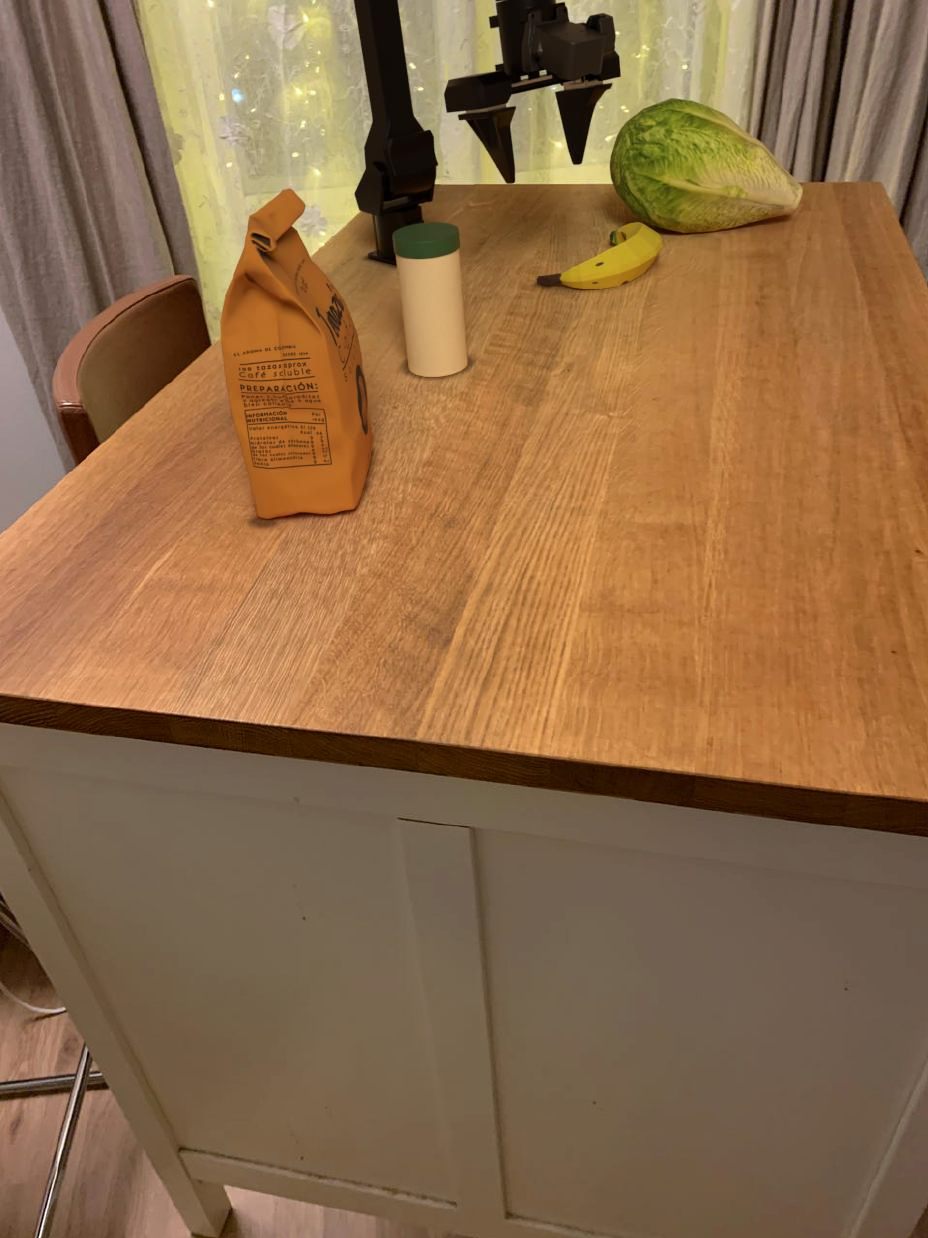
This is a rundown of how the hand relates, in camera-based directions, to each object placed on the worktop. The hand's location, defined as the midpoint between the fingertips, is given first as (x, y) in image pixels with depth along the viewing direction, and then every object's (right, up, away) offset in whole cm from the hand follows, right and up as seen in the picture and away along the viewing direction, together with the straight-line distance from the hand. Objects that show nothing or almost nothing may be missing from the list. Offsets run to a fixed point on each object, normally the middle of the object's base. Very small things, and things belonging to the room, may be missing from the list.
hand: (544, 173), depth 101 cm
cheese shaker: (-11, -20, -2) cm, 23 cm away
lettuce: (+23, +5, +28) cm, 36 cm away
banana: (+8, -4, +18) cm, 20 cm away
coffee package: (-20, -35, -20) cm, 45 cm away
